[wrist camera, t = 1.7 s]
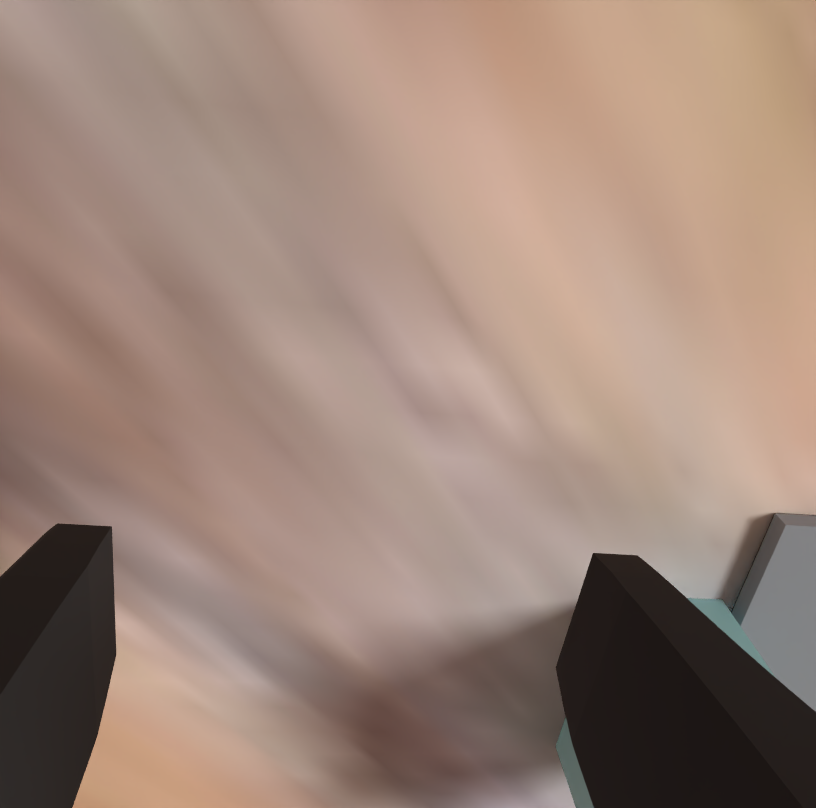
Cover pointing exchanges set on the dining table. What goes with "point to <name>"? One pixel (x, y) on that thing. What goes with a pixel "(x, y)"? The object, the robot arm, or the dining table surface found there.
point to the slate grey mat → (784, 603)
